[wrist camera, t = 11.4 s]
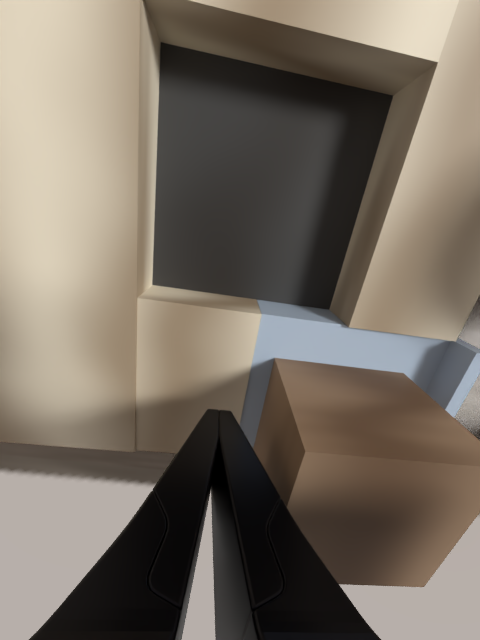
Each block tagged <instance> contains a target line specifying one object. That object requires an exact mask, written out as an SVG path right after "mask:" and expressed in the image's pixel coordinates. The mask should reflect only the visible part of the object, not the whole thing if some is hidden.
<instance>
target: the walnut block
mask: <svg viewBox="0 0 480 640" xmlns="http://www.w3.org/2000/svg"><path fill="white" fill-rule="evenodd" d="M253 450H254V451H255V453H256V455H257V457H258V458H259V460H260V462H261V463H262V465H263V467H264V469H265V470H266V472H267V474H268V476H269V477H270V479H271V481H272V482H273V484H274V486H275V488H276V489H277V491H278V493H279V495H280V496H281V499H282V500H283V501H284V503H285V505H286V507H287V508H288V510H289V512H290V513H291V515H292V517H293V518H294V520H295V522H296V523H297V525H298V526H299V528H300V530H301V531H302V533H303V534H304V536H305V537H306V539H307V540H308V542H309V543H310V545H311V546H312V547H313V549H314V550H315V552H316V553H317V555H318V556H319V558H320V559H321V560H322V562H323V563H324V565H325V566H326V567H327V569H328V570H329V572H330V573H331V574H332V576H333V577H334V579H335V580H336V581H337V583H338V584H352V585H378V586H407V587H408V586H409V587H424V586H425V585H426V583H427V582H428V581H429V579H430V578H431V577H432V575H433V574H434V573H435V571H436V570H437V569H438V567H439V566H440V565H441V563H442V562H443V561H444V559H445V558H446V557H447V555H448V554H449V553H450V551H451V550H452V549H453V547H454V546H455V545H456V543H457V542H458V541H459V539H460V538H461V537H462V535H463V534H464V533H465V531H466V530H467V529H468V527H469V526H470V525H471V523H472V522H473V521H474V519H475V518H476V517H477V515H478V514H479V513H480V440H478V439H477V438H476V437H475V436H474V435H473V434H472V433H471V432H469V431H468V430H467V429H466V428H465V427H464V426H463V425H462V424H460V423H459V422H458V421H457V420H456V419H455V418H454V417H452V416H451V415H450V414H449V413H448V412H447V411H446V410H445V409H443V408H442V407H441V406H440V405H439V404H438V403H437V402H436V401H434V400H433V399H432V398H431V397H430V396H429V395H428V394H427V393H425V392H424V391H423V390H422V389H421V388H420V387H419V386H417V385H416V384H415V383H414V382H413V381H412V380H411V379H410V378H408V377H407V376H406V375H405V374H404V373H398V372H390V371H382V370H373V369H365V368H356V367H348V366H340V365H331V364H323V363H315V362H306V361H298V360H289V359H281V358H274V362H273V367H272V371H271V375H270V379H269V384H268V388H267V392H266V396H265V401H264V405H263V409H262V413H261V418H260V422H259V426H258V430H257V435H256V439H255V443H254V447H253Z"/></svg>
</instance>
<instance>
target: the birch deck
mask: <svg viewBox="0 0 480 640" xmlns="http://www.w3.org/2000/svg"><path fill="white" fill-rule="evenodd" d="M479 296H480V0H0V442H7V443H20V444H33V445H46V446H59V447H72V448H85V449H98V450H110V451H123V452H135V450H138V451H151V452H164V453H178V451H179V450H180V448H181V447H182V445H183V444H184V442H185V441H186V440H187V438H188V437H189V435H190V434H191V432H192V431H193V429H194V428H195V426H196V425H197V423H198V422H199V420H200V419H201V417H202V416H203V414H204V413H205V411H206V410H207V409H218V410H229V411H231V412H232V413H233V415H234V417H235V419H236V420H237V422H238V424H239V425H240V420H241V415H242V410H243V405H244V400H245V395H246V390H247V385H248V380H249V375H250V370H251V365H252V360H253V355H254V350H255V345H256V340H257V335H258V330H259V325H260V320H261V315H262V314H261V311H260V309H259V306H258V303H257V300H264V301H271V302H278V303H285V304H292V305H299V306H306V307H314V308H321V309H328V310H330V311H331V312H332V313H333V314H335V315H336V316H337V317H338V318H339V319H340V320H341V321H342V322H343V323H345V324H346V325H347V326H348V327H350V328H358V329H365V330H373V331H380V332H388V333H395V334H403V335H410V336H418V337H425V338H433V339H440V340H448V341H455V342H456V340H457V338H458V337H459V335H460V333H461V331H462V329H463V327H464V325H465V323H466V321H467V319H468V317H469V315H470V313H471V311H472V309H473V307H474V305H475V303H476V301H477V299H478V297H479Z"/></svg>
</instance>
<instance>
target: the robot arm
mask: <svg viewBox="0 0 480 640" xmlns="http://www.w3.org/2000/svg"><path fill="white" fill-rule="evenodd" d="M210 490H211V496H212V497H211V499H212V530H213V531H212V533H213V565H214V566H213V567H214V600H215V634H216V640H381V639H380V638H379V637H378V636H377V635H376V634H375V633H374V631H373V630H372V629H371V628H370V627H369V625H368V624H367V623H366V622H365V620H364V619H363V618H362V616H361V615H360V614H359V612H358V611H357V609H356V608H355V607H354V605H353V604H352V602H351V601H350V600H349V598H348V597H347V595H346V594H345V593H344V591H343V590H342V588H341V587H340V586H339V584H338V583H337V581H336V580H335V579H334V577H333V576H332V574H331V573H330V572H329V570H328V569H327V567H326V566H325V565H324V563H323V562H322V560H321V559H320V558H319V556H318V555H317V553H316V552H315V550H314V549H313V547H312V546H311V545H310V543H309V542H308V540H307V539H306V537H305V536H304V534H303V533H302V531H301V530H300V528H299V526H298V525H297V523H296V522H295V520H294V518H293V517H292V515H291V513H290V512H289V510H288V508H287V507H286V505H285V503H284V501H283V500H282V499H281V496H280V495H279V493H278V491H277V489H276V488H275V486H274V484H273V482H272V481H271V479H270V477H269V476H268V474H267V472H266V470H265V469H264V467H263V465H262V463H261V462H260V460H259V458H258V457H257V455H256V453H255V451H254V450H253V448H252V446H251V444H250V443H249V441H248V439H247V438H246V436H245V434H244V432H243V431H242V429H241V427H240V425H239V424H238V422H237V420H236V419H235V417H234V415H233V413H232V412H231V411H229V410H218V409H207V410H206V411H205V413H204V414H203V416H202V417H201V419H200V420H199V422H198V423H197V425H196V426H195V428H194V429H193V431H192V432H191V434H190V435H189V437H188V438H187V440H186V441H185V442H184V444H183V445H182V447H181V448H180V450H179V451H178V453H177V454H176V456H175V457H174V459H173V460H172V462H171V463H170V465H169V466H168V468H167V469H166V471H165V472H164V473H163V475H162V476H161V478H160V479H159V481H158V482H157V484H156V485H155V487H154V488H153V491H152V492H151V493H150V494H149V495H148V497H147V498H146V500H145V501H144V503H143V504H142V506H141V507H140V508H139V510H138V511H137V513H136V514H135V515H134V517H133V518H132V520H131V521H130V522H129V524H128V525H127V526H126V527H125V529H124V530H123V531H122V532H121V534H120V535H119V536H118V537H117V539H116V540H115V541H114V542H113V544H112V545H111V546H110V547H109V548H108V550H107V551H106V552H105V553H104V555H103V556H102V557H101V558H100V559H99V560H98V562H97V563H96V564H95V565H94V566H93V568H92V569H91V570H90V571H89V572H88V573H87V575H86V576H85V577H84V578H83V579H82V581H81V582H80V583H79V584H78V585H77V586H76V588H75V589H74V590H73V591H72V592H71V594H70V595H69V596H68V597H67V598H66V600H65V601H64V602H63V603H62V605H61V606H60V607H59V608H58V609H57V610H56V611H55V612H54V614H53V615H52V616H51V617H50V618H49V619H48V620H47V622H46V623H45V624H44V625H43V626H42V627H41V628H40V629H39V630H38V631H37V632H36V633H35V634H34V635H33V636H32V637H31V638H30V639H29V640H181V639H182V634H183V628H184V623H185V618H186V613H187V608H188V603H189V598H190V593H191V587H192V583H193V577H194V572H195V567H196V562H197V557H198V552H199V547H200V542H201V537H202V531H203V526H204V521H205V516H206V510H207V506H208V501H209V496H210Z"/></svg>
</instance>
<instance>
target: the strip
mask: <svg viewBox="0 0 480 640" xmlns="http://www.w3.org/2000/svg"><path fill="white" fill-rule="evenodd" d="M257 303H258V306H259V309H260V311H261V314H262V315H261V320H260V325H259V330H258V335H257V340H256V345H255V350H254V355H253V360H252V365H251V370H250V375H249V380H248V385H247V390H246V395H245V400H244V405H243V410H242V415H241V420H240V427H241V429H242V431H243V432H244V434H245V436H246V438H247V439H248V441H249V443H250V444H251V446H252V448H253V447H254V443H255V439H256V435H257V430H258V426H259V422H260V418H261V413H262V409H263V405H264V401H265V396H266V392H267V388H268V384H269V379H270V375H271V371H272V367H273V362H274V358H281V359H289V360H298V361H306V362H315V363H323V364H331V365H340V366H348V367H356V368H365V369H373V370H382V371H390V372H398V373H404V374H405V375H406V376H407V377H408V378H410V379H411V380H412V381H413V382H414V383H415V384H416V385H417V386H419V387H420V388H421V389H422V390H423V391H424V392H425V393H427V394H428V395H429V396H430V397H431V398H432V399H433V400H434V401H436V402H437V403H438V404H439V405H440V406H441V407H442V408H443V409H445V410H446V411H447V412H448V413H449V414H450V415H451V416H452V417H455V415H456V414H457V412H458V410H459V408H460V407H461V405H462V403H463V402H464V400H465V398H466V396H467V395H468V393H469V391H470V389H471V388H472V386H473V384H474V383H475V381H476V379H477V377H478V376H479V374H480V349H478V348H476V347H475V346H473V345H471V344H469V343H467V342H465V341H463V340H461V339H459V338H457V340H456V342H455V341H448V340H440V339H433V338H425V337H418V336H410V335H403V334H395V333H388V332H380V331H373V330H365V329H358V328H350V327H348V326H347V325H346V324H345V323H343V322H342V321H341V320H340V319H339V318H338V317H337V316H336V315H335V314H333V313H332V312H331V311H330V310H328V309H321V308H314V307H306V306H299V305H292V304H285V303H278V302H271V301H264V300H257Z"/></svg>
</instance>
